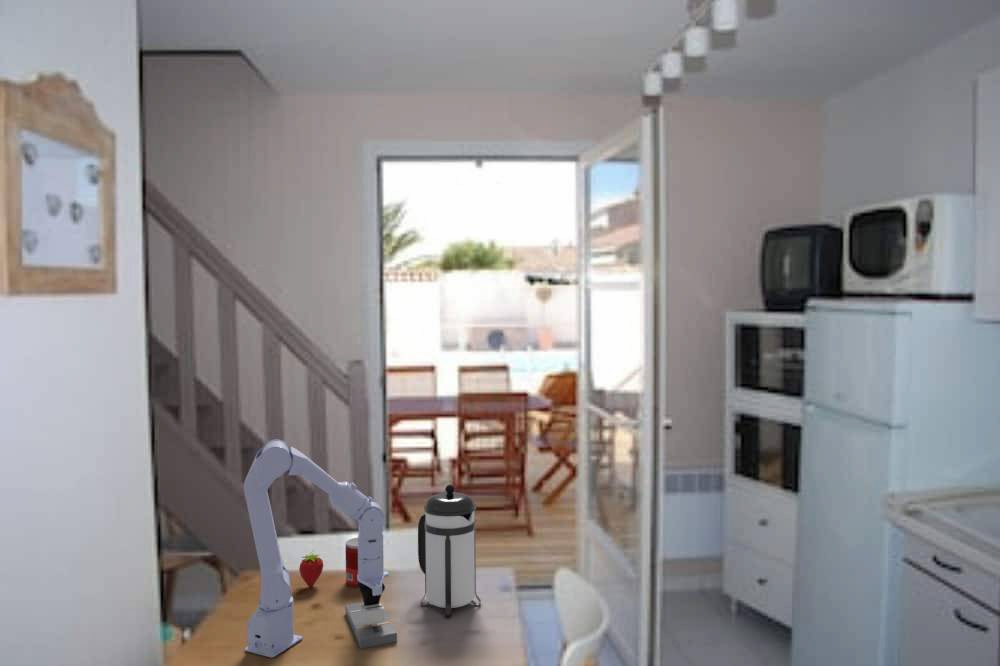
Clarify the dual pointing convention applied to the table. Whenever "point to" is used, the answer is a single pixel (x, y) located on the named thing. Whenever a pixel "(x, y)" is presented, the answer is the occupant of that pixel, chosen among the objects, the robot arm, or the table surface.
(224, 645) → the table surface
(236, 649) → the table surface
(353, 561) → the canned food
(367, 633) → the fader board
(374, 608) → the fader knob
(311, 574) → the strawberry
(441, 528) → the coffee press
